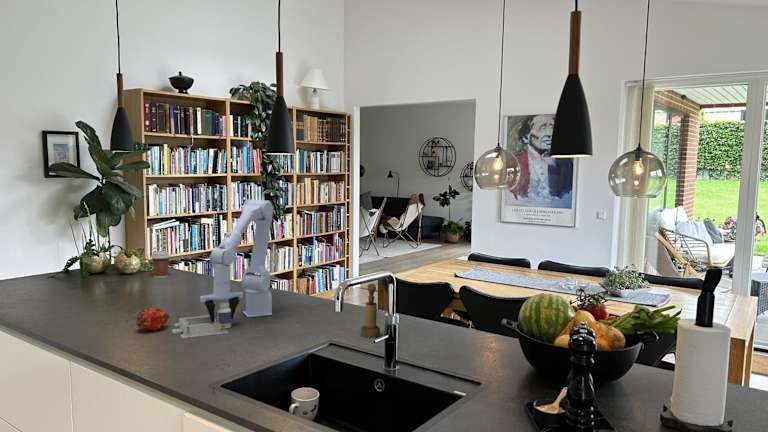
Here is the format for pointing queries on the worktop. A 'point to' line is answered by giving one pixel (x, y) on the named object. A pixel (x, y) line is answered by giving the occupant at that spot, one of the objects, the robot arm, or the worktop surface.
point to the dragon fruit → (152, 319)
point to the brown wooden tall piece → (370, 315)
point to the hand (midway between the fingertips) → (221, 319)
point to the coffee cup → (160, 264)
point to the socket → (198, 326)
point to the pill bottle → (223, 314)
